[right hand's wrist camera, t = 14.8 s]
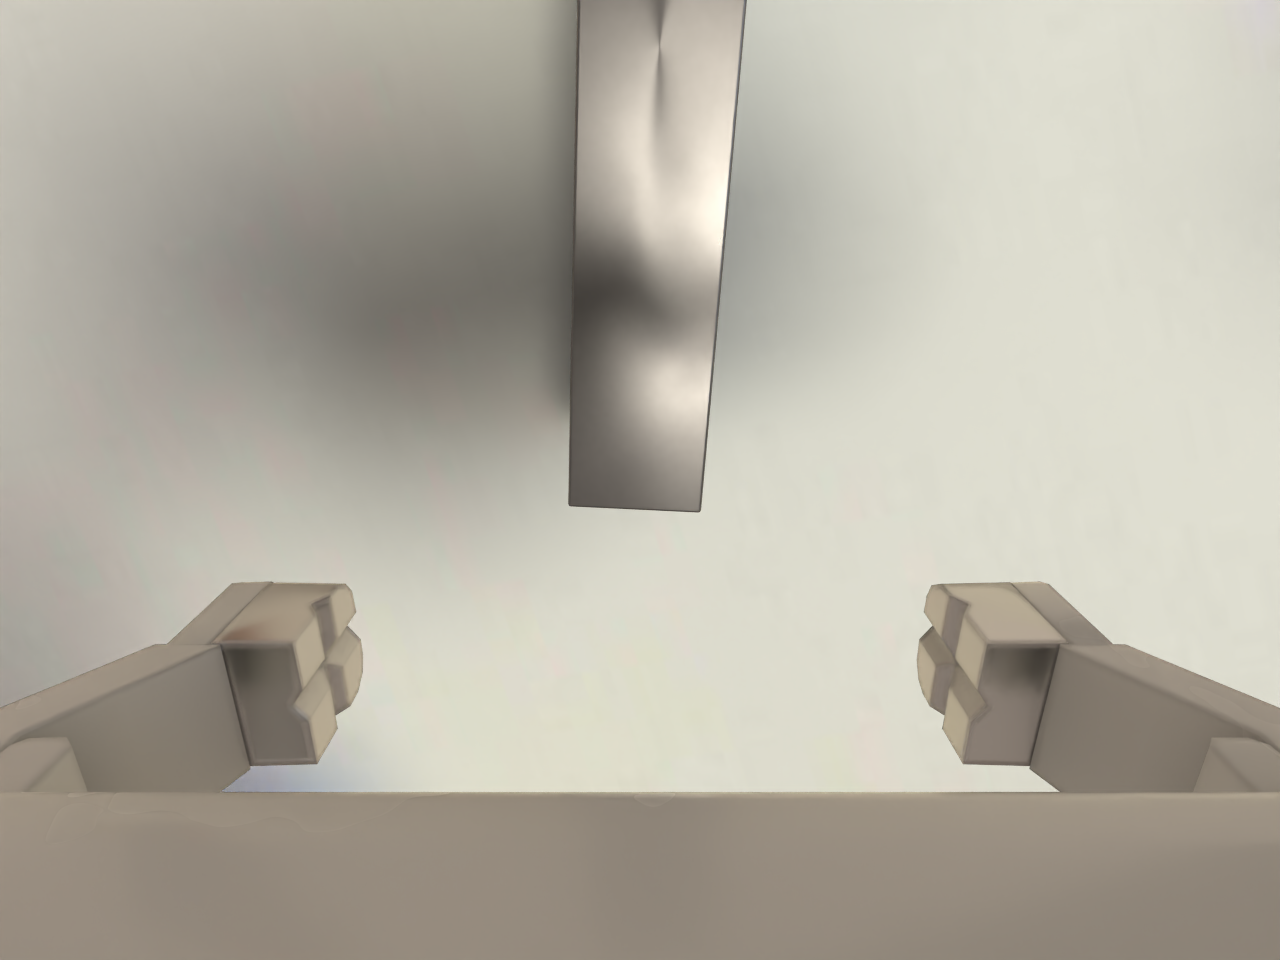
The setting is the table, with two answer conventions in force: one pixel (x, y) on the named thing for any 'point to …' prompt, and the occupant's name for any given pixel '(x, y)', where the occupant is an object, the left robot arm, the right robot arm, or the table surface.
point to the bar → (649, 244)
